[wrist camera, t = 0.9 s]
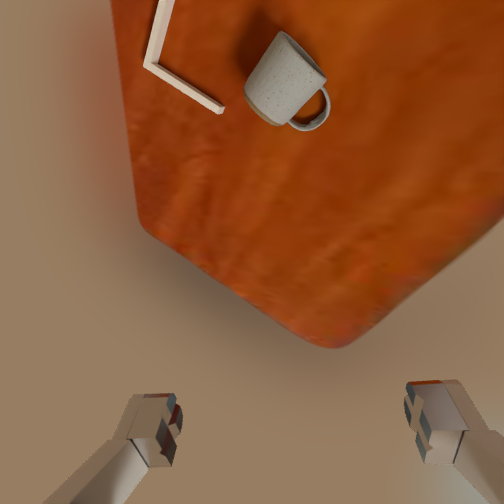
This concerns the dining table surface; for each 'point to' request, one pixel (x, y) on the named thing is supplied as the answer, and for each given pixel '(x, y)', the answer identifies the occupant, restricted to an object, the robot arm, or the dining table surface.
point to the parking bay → (152, 65)
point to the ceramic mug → (285, 84)
